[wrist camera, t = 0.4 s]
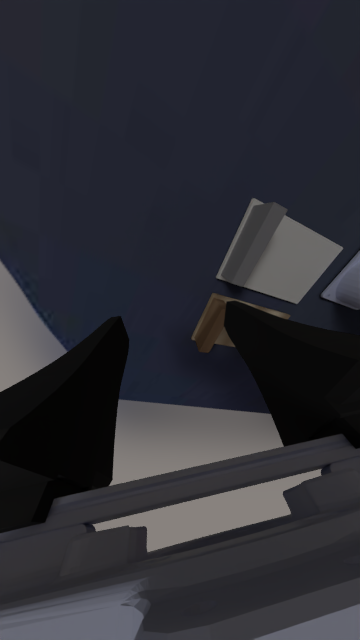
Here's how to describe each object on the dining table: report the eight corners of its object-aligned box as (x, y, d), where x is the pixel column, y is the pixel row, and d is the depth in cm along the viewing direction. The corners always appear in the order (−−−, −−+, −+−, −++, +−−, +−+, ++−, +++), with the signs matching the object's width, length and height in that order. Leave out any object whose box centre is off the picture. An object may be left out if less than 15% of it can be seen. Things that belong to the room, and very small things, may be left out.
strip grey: (340, 247, 18) (373, 251, 15) (295, 302, 22) (315, 314, 19) (252, 198, 14) (275, 192, 11) (215, 277, 18) (227, 287, 15)
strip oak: (288, 314, 23) (306, 326, 20) (259, 349, 27) (271, 364, 24) (212, 292, 19) (222, 304, 16) (191, 338, 23) (196, 353, 20)
